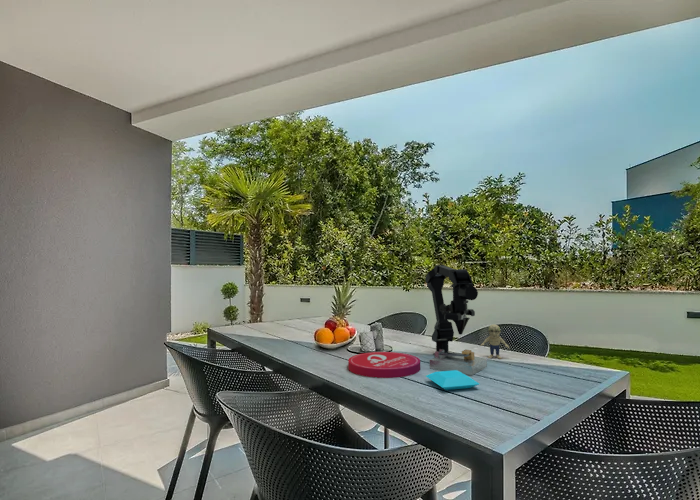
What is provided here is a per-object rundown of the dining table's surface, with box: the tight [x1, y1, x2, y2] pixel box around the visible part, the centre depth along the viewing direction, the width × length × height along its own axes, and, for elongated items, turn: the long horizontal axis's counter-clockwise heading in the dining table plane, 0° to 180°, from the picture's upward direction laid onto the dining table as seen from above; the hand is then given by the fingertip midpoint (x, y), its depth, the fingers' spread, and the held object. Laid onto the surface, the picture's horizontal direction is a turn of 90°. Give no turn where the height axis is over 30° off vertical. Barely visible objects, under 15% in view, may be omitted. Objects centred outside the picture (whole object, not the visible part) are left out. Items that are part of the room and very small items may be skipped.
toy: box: [480, 323, 510, 360], centre depth 186 cm, size 13×6×15 cm, turn 68°
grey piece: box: [429, 349, 488, 376], centre depth 169 cm, size 16×18×7 cm
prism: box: [425, 370, 480, 391], centre depth 145 cm, size 14×14×5 cm
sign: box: [347, 351, 421, 379], centre depth 170 cm, size 30×4×30 cm
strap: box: [440, 351, 469, 357], centre depth 167 cm, size 3×13×1 cm, turn 51°
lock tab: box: [461, 349, 475, 360], centre depth 165 cm, size 6×3×4 cm, turn 141°
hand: (460, 334), depth 176 cm, fingers closed
